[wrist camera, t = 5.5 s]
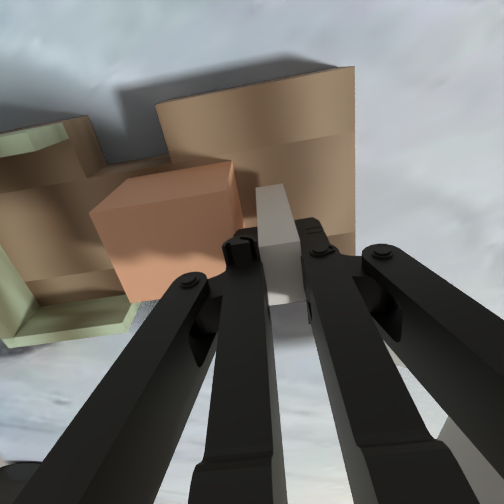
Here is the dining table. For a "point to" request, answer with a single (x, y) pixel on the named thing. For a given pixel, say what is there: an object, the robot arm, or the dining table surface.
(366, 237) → the dining table surface
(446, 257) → the dining table surface
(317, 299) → the robot arm
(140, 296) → the block
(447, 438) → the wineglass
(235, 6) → the dining table surface
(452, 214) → the dining table surface
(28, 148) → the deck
